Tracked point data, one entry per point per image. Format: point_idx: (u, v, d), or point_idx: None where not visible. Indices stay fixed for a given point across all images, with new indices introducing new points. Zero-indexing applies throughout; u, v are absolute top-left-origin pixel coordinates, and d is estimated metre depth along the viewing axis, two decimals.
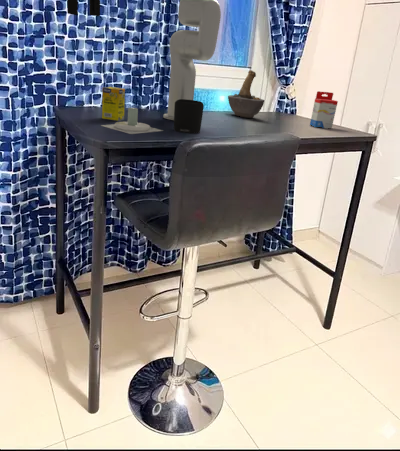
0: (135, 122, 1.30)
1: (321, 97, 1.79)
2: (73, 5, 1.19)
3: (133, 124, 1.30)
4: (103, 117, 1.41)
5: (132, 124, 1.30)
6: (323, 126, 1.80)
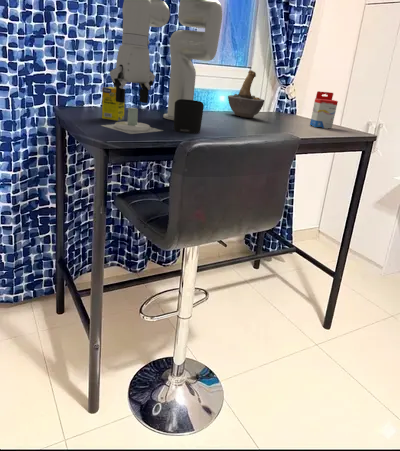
0: (135, 122, 1.30)
1: (321, 97, 1.79)
2: None
3: (133, 124, 1.30)
4: (103, 117, 1.41)
5: (132, 124, 1.30)
6: (323, 126, 1.80)
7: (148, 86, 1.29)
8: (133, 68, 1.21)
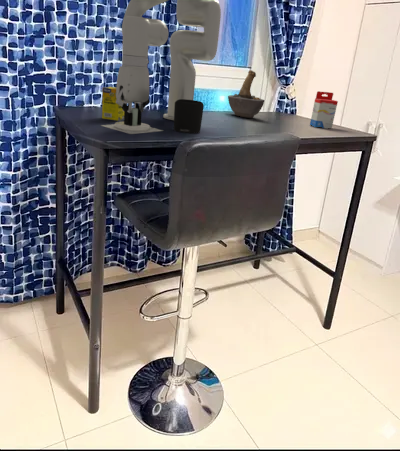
0: (135, 122, 1.30)
1: (321, 97, 1.79)
2: None
3: (133, 124, 1.30)
4: (103, 117, 1.41)
5: (132, 124, 1.30)
6: (323, 126, 1.80)
7: (141, 108, 1.30)
8: (133, 89, 1.24)
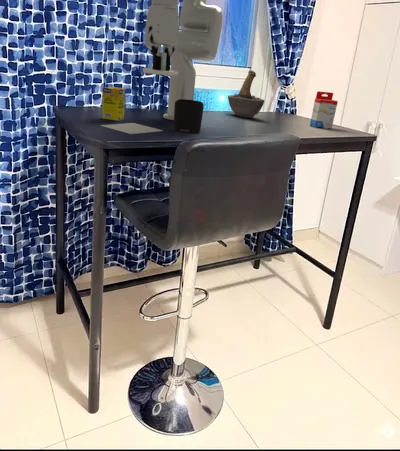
0: (164, 67, 1.26)
1: (321, 97, 1.79)
2: None
3: (162, 69, 1.26)
4: (103, 117, 1.41)
5: (161, 69, 1.26)
6: (323, 126, 1.80)
7: (170, 53, 1.26)
8: (162, 30, 1.20)
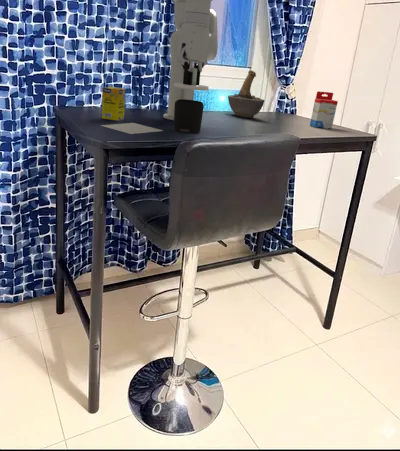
0: (194, 82, 1.30)
1: (321, 97, 1.79)
2: None
3: (192, 84, 1.30)
4: (103, 117, 1.41)
5: None
6: (323, 126, 1.80)
7: (200, 68, 1.31)
8: (195, 46, 1.24)
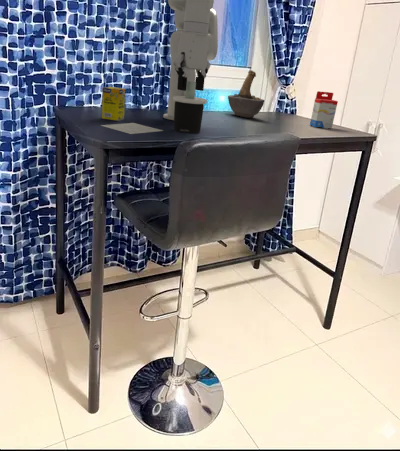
0: (193, 95, 1.32)
1: (321, 97, 1.79)
2: None
3: (191, 97, 1.32)
4: (103, 117, 1.41)
5: (190, 97, 1.32)
6: (323, 126, 1.80)
7: (204, 74, 1.33)
8: (194, 55, 1.25)
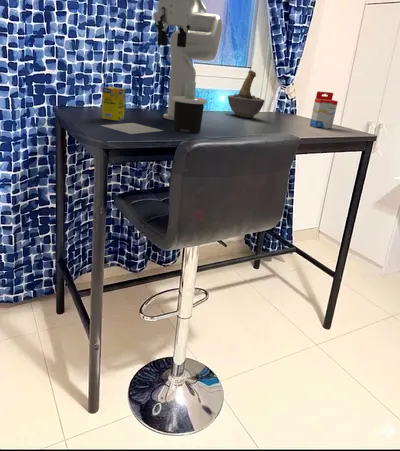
0: (193, 95, 1.32)
1: (321, 97, 1.79)
2: None
3: (191, 97, 1.32)
4: (103, 117, 1.41)
5: (190, 97, 1.32)
6: (323, 126, 1.80)
7: (186, 30, 1.33)
8: (174, 11, 1.25)
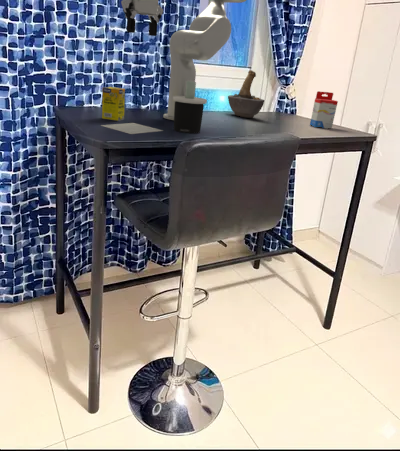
0: (193, 95, 1.32)
1: (321, 97, 1.79)
2: None
3: (191, 97, 1.32)
4: (103, 117, 1.41)
5: (190, 97, 1.32)
6: (323, 126, 1.80)
7: (157, 19, 1.37)
8: None
